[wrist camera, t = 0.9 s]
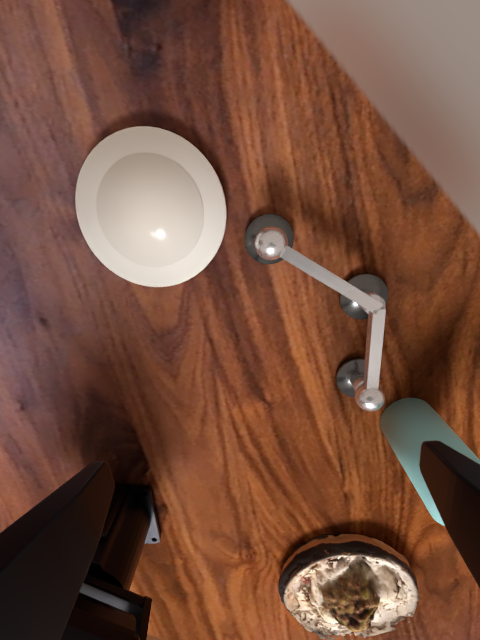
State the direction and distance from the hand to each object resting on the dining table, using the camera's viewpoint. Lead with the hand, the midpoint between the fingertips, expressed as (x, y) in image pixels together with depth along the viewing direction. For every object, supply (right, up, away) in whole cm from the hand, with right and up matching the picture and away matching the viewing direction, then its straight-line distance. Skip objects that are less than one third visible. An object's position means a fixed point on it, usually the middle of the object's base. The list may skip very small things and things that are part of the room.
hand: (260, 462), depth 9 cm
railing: (+5, +5, +12) cm, 14 cm away
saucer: (-6, +11, +10) cm, 16 cm away
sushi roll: (+9, -20, +22) cm, 31 cm away
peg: (+12, -4, +15) cm, 19 cm away
